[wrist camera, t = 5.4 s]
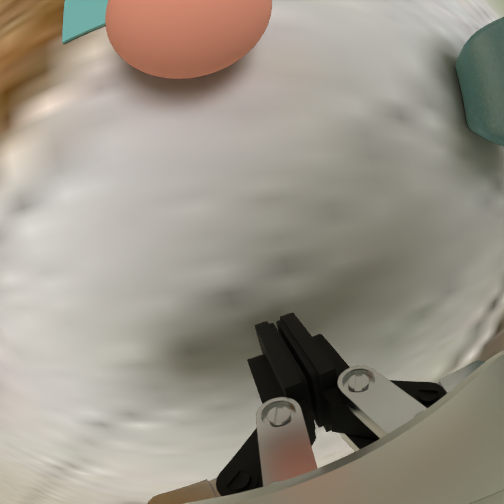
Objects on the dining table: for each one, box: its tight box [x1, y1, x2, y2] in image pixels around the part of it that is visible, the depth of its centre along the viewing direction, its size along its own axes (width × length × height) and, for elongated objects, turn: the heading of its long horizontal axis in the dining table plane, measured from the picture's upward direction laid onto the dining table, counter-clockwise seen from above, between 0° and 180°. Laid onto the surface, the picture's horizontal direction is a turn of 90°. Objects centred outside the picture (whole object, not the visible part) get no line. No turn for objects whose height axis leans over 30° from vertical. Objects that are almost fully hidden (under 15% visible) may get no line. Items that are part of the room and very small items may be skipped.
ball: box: [105, 0, 272, 79], centre depth 6 cm, size 6×6×6 cm
